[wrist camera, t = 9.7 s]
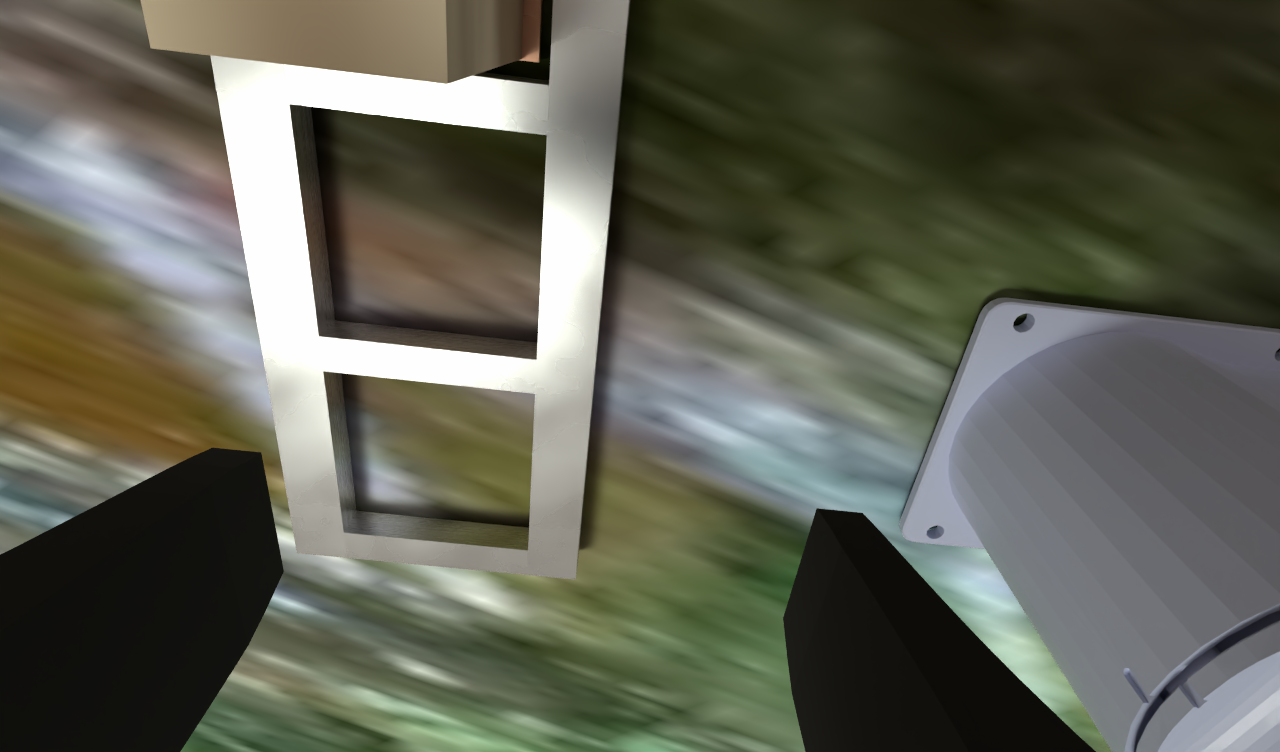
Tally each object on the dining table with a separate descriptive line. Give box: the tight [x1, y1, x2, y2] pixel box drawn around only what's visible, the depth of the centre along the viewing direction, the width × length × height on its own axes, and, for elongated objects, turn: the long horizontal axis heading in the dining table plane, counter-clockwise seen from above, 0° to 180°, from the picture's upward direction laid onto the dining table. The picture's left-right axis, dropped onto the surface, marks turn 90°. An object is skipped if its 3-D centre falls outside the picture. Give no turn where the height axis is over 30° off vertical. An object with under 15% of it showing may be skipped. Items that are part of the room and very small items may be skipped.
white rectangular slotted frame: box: [211, 0, 631, 579], centre depth 16 cm, size 8×20×1 cm, turn 173°
